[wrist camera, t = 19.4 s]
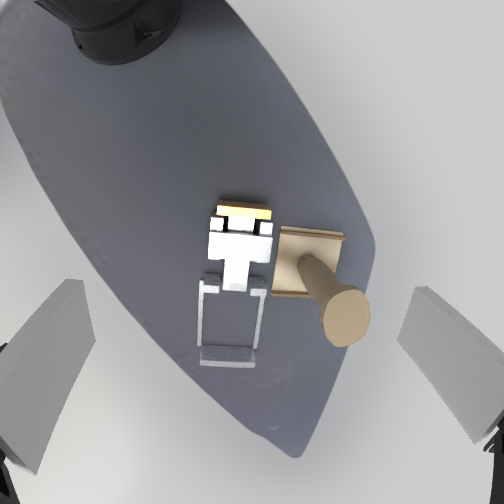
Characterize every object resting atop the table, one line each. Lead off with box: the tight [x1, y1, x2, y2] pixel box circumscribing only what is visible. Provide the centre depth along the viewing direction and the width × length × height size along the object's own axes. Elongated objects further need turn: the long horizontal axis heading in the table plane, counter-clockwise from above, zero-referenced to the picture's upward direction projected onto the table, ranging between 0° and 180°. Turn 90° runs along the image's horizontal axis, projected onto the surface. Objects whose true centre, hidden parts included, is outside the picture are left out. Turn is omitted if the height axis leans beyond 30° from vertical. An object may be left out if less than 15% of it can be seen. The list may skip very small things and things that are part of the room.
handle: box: [297, 254, 370, 347], centre depth 33 cm, size 5×6×15 cm
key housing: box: [208, 212, 273, 263], centre depth 36 cm, size 5×7×5 cm
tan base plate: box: [271, 226, 346, 298], centre depth 40 cm, size 10×9×2 cm
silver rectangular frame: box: [197, 273, 267, 368], centre depth 40 cm, size 13×9×4 cm
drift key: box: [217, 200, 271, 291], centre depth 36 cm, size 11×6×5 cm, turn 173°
